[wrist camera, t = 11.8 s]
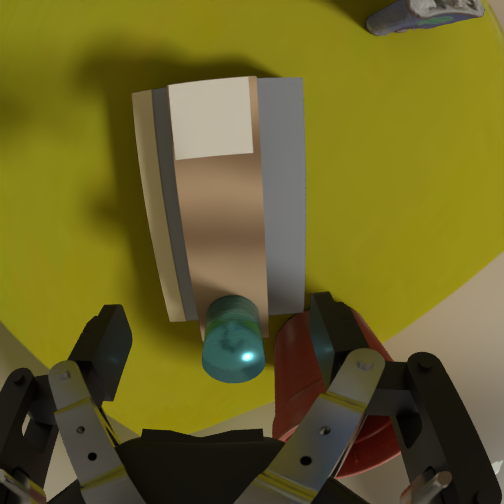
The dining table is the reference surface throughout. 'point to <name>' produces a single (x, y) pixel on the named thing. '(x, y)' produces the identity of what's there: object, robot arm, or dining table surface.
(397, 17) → the flask
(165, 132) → the dock
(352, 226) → the dining table surface
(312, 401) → the flower pot
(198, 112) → the white cube
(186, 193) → the pallet
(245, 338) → the teal canister
